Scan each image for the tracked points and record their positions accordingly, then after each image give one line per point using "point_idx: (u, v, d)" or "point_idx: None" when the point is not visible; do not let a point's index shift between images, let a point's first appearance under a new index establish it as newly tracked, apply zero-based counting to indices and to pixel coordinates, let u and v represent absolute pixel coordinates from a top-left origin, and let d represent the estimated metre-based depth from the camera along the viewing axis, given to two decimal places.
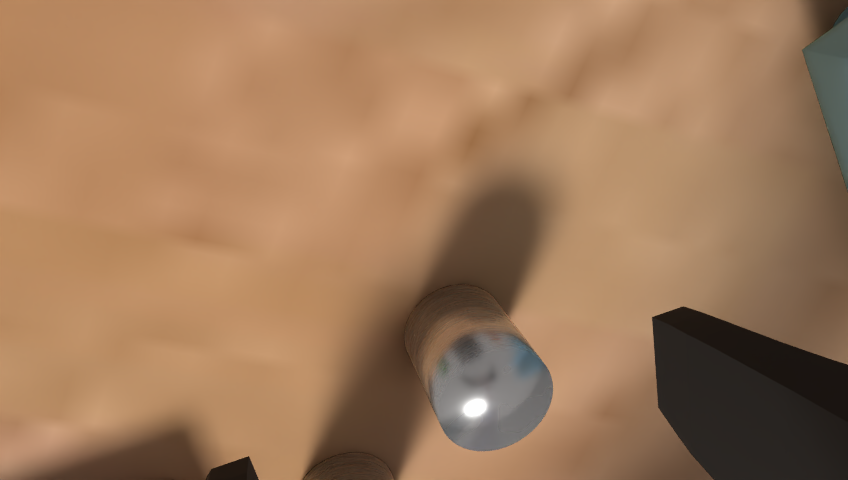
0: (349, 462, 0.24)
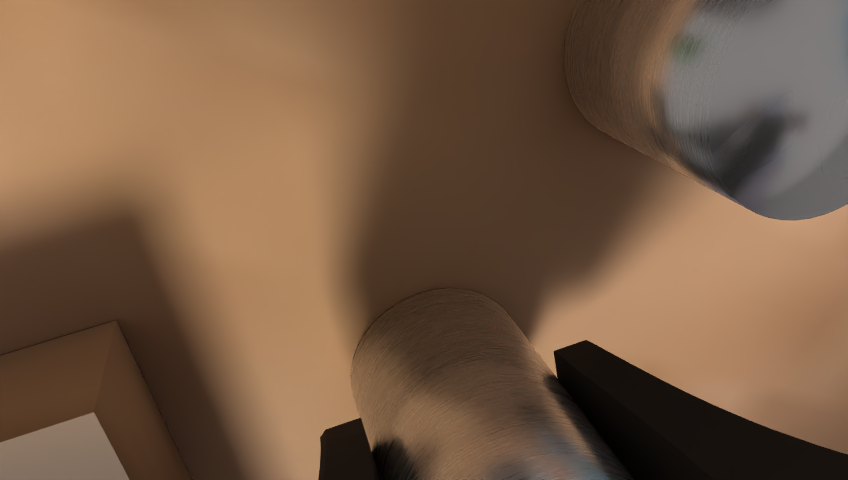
0: (452, 300, 0.13)
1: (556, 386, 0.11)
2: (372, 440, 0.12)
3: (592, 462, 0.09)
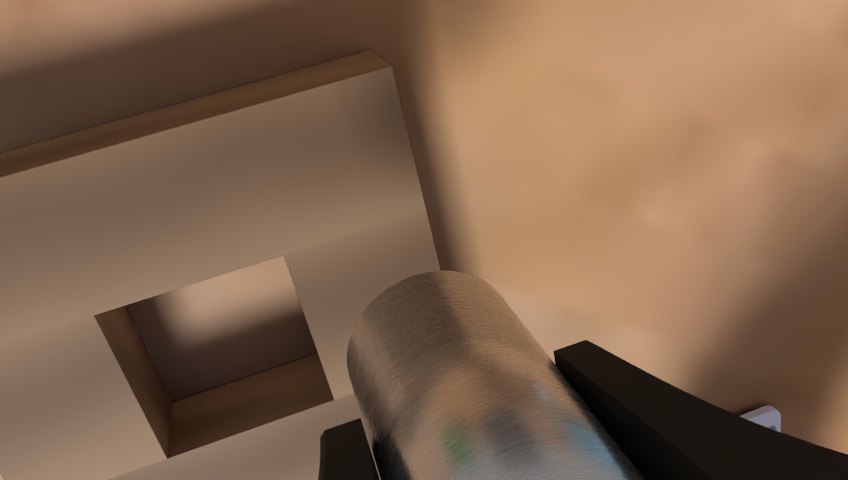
0: (449, 282, 0.13)
1: (550, 364, 0.11)
2: (367, 414, 0.12)
3: (585, 432, 0.09)
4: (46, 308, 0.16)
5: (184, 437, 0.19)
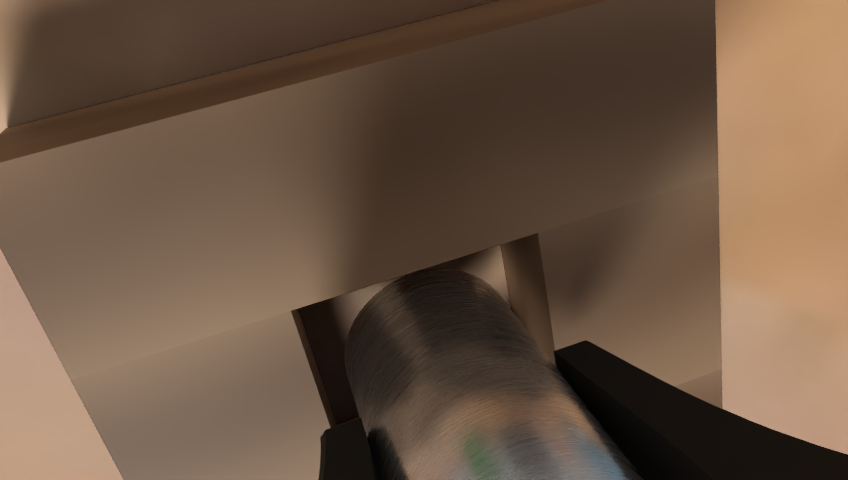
0: (449, 280, 0.13)
1: (549, 364, 0.11)
2: (365, 411, 0.12)
3: (583, 432, 0.09)
4: (231, 300, 0.12)
5: None
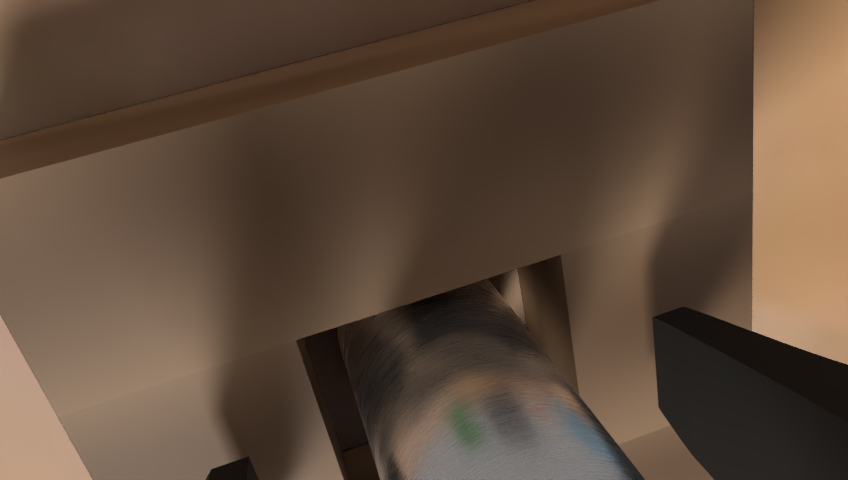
0: None
1: (526, 332, 0.12)
2: (355, 378, 0.13)
3: (554, 389, 0.10)
4: (231, 329, 0.11)
5: None
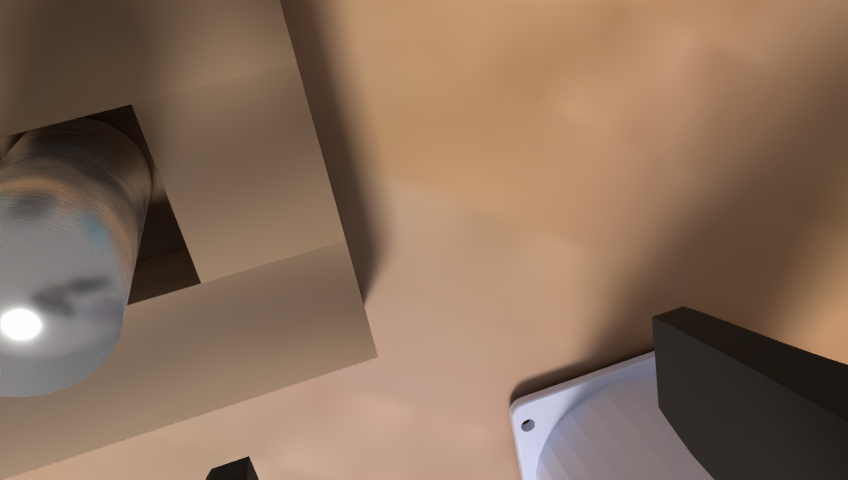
0: (74, 121, 0.17)
1: (103, 164, 0.16)
2: None
3: (65, 183, 0.14)
4: None
5: None
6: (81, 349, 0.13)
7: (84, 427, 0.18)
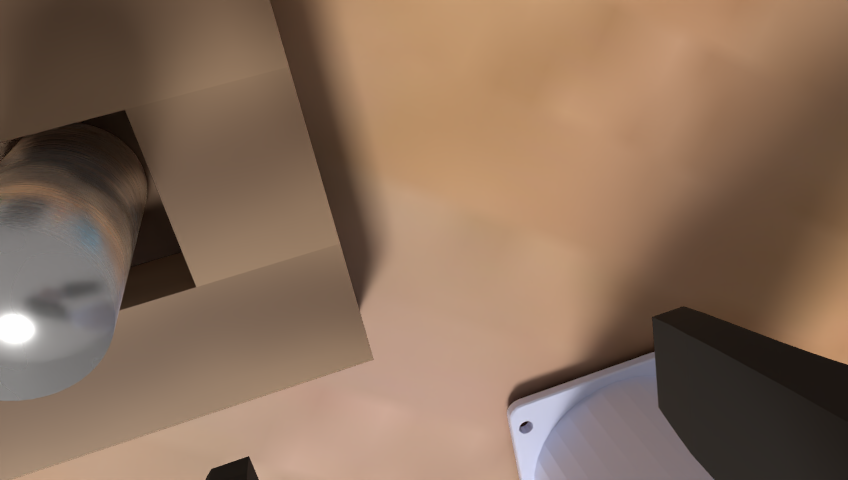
0: (69, 127, 0.17)
1: (98, 169, 0.16)
2: None
3: (58, 188, 0.14)
4: None
5: None
6: (74, 353, 0.13)
7: (81, 431, 0.18)
